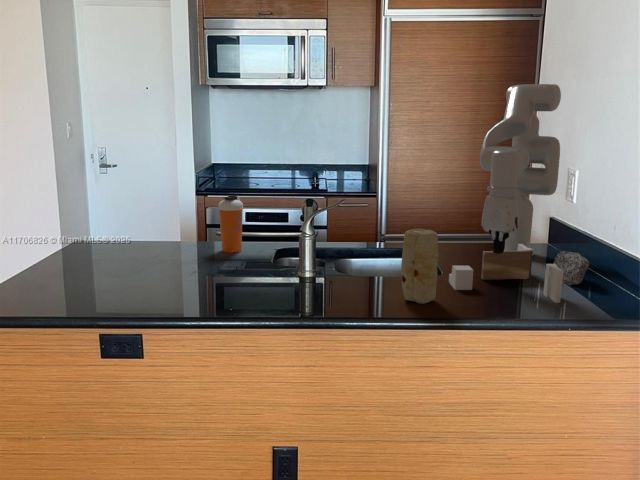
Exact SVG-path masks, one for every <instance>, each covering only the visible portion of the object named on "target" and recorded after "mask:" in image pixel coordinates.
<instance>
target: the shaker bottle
mask: <svg viewBox="0 0 640 480" xmlns="http://www.w3.org/2000/svg"><path fill="white" fill-rule="evenodd" d="M222 199H223V200H221V201H219V203H218V210H219V211H218V212H219V224H220V225H219V226H220V239H221V251H222V252H223V253H227V252H228V253H233V254H234V252H235V253H239V252H242V250H243V247H242V243H243V242H242V241H243V212H244V211H243V210H244V204H243V202H242V201H241V199H240V196H239V195H228V196H224V197H222Z"/></svg>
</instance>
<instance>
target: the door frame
mask: <svg viewBox="0 0 640 480" xmlns="http://www.w3.org/2000/svg"><path fill="white" fill-rule="evenodd" d="M517 251H534V250H533V249H532V248H531V247H530V248H527V247H526V246H524V245H523V244H518V250H517ZM562 280H563V270H561V269H560V268H558V266H557V265H556V264H553V263H545V273H544V282H543V293H542V295H544V297H545V298H549V299H551V301H553V302H554V303H555V304H560V303H561V298H562V287H563V283H562Z"/></svg>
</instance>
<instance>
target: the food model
mask: <svg viewBox="0 0 640 480" xmlns="http://www.w3.org/2000/svg"><path fill="white" fill-rule="evenodd" d="M438 235H439V234H437V232H436V231H434V230H431V229H425V228H412V229H409V230H406V231H405V232H404V237H403V241H402V242H403V245H402V252H401V253H402V254H401V265H400V266H401V287H402V293H403V294H402V295H403V297H404V299H405V300H406V301H410V302H415V303H417V304H421V305H423V304H427V303H430V302H431V301H434V300H435V298H436V296H437V295H436V293H437V292H436V291H437V282H438V266H439V240H438V239H439V237H438Z"/></svg>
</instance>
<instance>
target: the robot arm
mask: <svg viewBox="0 0 640 480" xmlns="http://www.w3.org/2000/svg"><path fill="white" fill-rule="evenodd" d="M561 97H562V92H561V88H560V86H559V85H557V84H556V83H555V84H553V83H552V84H551V83H531V84H530V83H529V84H528V83H527V84H526V83H525V84H523V83H522V84H515V85H511V86H510V87H508V88H507V90H506V92H505V98H506V107H505V112H504V115H503V119H502V120H501V121H500V122H498V123H496V124H495V125H494V126H493V127H492V128H491V129H489V131H487V133H486V135H485V136H484V138H483V141H482V144H481V145H482V146H481V149H480V153H479V165H480V167H481V169H482V170H484V171H487V172H490V178H489V179H490V180H489V186H487V187H486V191H488V194H489V195H486V197H485V200H484V204H483V210H482V216H481V227H482V228H483V231H485V232H487V233H489V235H490V236H491V239H492V240H493V243H492V249H493V250H492V251H493V253H497V254H500V253H503V252H504V251H517V250H518V244H523V245H524V246H526V247H527V248H531V238H532V226H533V218H534V217H533V216H534V205H533V202H532V201H531V199H530V198H529V197H528V195H531V196H532V195H533V196H534V195H536V196H552V195H554V194H555V193H556V191H557V189H558V188H557V187H558V182H559V181H558V180H559V170H560V169H559V168H560V160H561V159H560V158H561V157H560V156H561V143H560V140H559V139H558V138H557V137H555V136H547V135H546V136H545V135H544V136H543V135H540V134H539V132H540V119H539V117H538V116H537V115H536V113H535V112H553V111H555V110H557V109H558V108H559V106H560V104H561V99H562V98H561ZM510 139H512V140H511V146H502V145H501V146H500V145H498V144H499V143H501V142H504V141H507V140H510ZM496 145H497V146H496ZM530 164H534V165H535V164H537V165H543V166H544V167H534V166H533V167H532V166H529V165H530ZM534 255H535V252H534V250H533V255H532V257H534Z"/></svg>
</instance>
